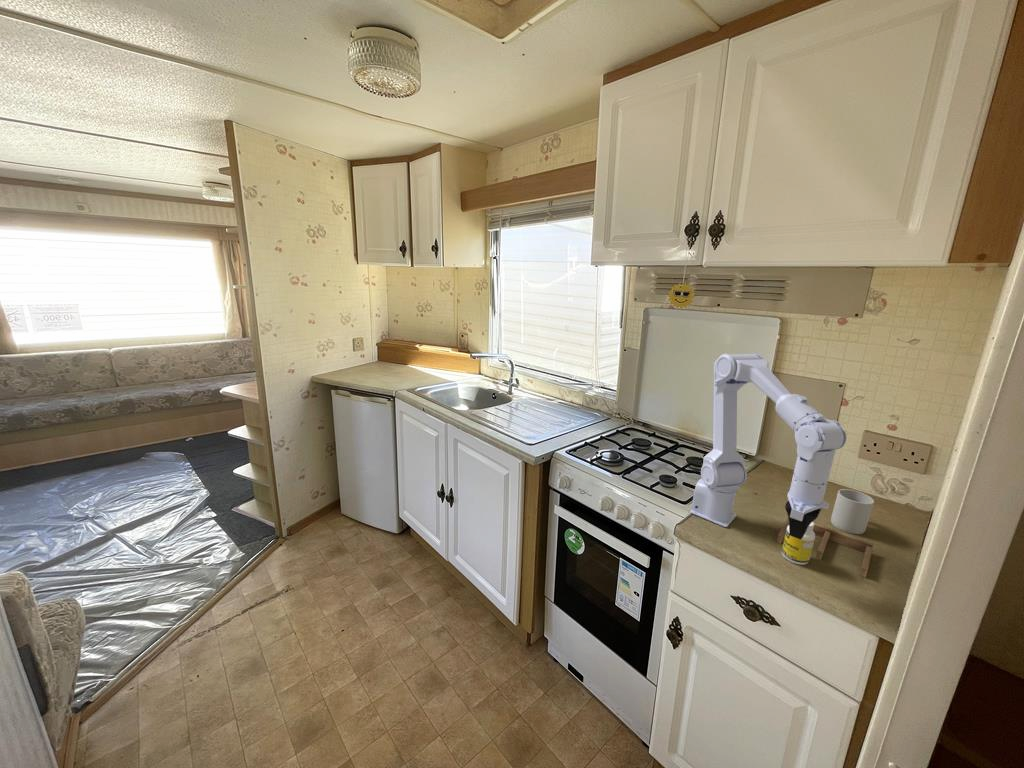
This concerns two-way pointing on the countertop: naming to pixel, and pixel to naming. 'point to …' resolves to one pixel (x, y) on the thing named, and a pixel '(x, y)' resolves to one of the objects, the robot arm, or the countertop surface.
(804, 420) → the robot arm
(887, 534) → the countertop surface
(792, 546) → the supplement bottle
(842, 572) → the countertop surface
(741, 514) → the countertop surface
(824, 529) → the rack
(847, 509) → the cup
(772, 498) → the countertop surface
